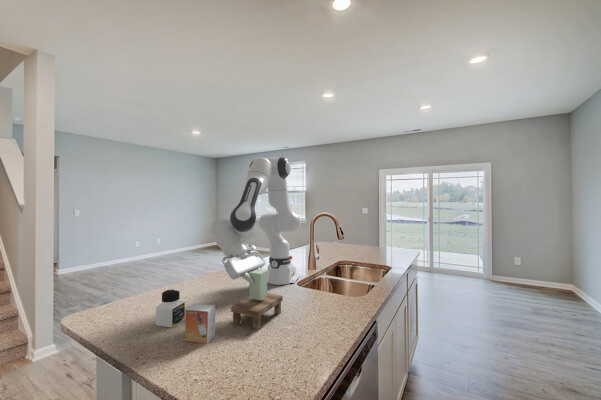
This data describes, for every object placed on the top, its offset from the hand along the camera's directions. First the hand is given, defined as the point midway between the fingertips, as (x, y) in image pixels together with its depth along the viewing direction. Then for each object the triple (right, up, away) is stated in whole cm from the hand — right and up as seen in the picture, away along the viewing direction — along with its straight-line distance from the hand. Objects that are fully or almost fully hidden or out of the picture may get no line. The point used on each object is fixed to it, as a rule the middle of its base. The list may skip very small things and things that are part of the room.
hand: (257, 280), depth 105 cm
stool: (0, -15, 0) cm, 15 cm away
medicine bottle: (-32, -15, -4) cm, 36 cm away
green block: (0, -6, 0) cm, 6 cm away
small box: (-17, -15, -16) cm, 27 cm away
